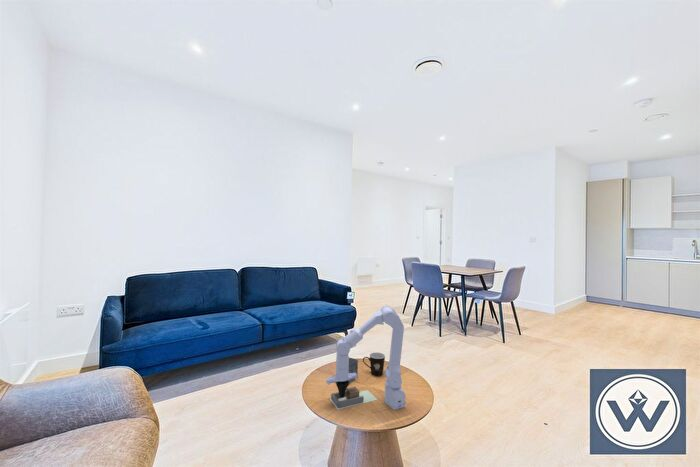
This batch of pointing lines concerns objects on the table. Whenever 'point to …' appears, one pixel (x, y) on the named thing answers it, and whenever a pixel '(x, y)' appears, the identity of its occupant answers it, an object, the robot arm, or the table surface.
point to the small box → (353, 368)
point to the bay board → (344, 402)
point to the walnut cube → (352, 392)
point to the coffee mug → (376, 363)
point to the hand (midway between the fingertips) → (341, 396)
